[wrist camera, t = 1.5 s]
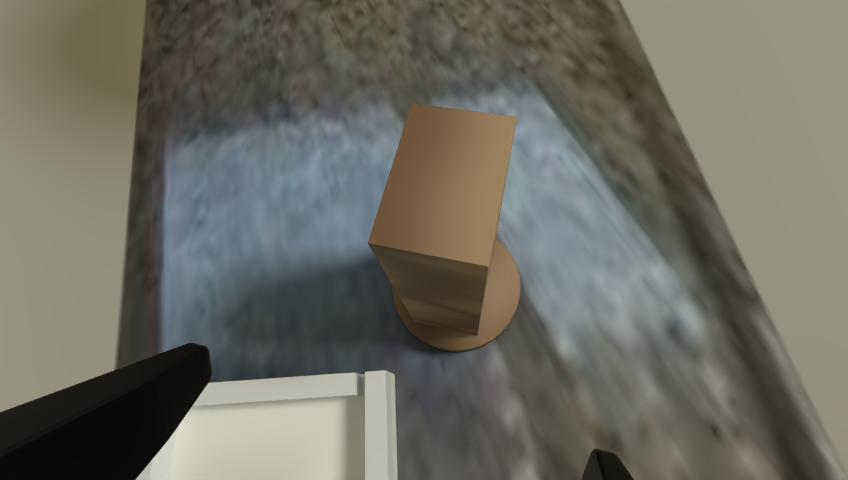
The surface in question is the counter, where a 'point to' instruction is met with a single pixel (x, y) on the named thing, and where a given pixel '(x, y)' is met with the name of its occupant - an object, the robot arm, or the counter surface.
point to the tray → (286, 431)
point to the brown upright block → (448, 228)
